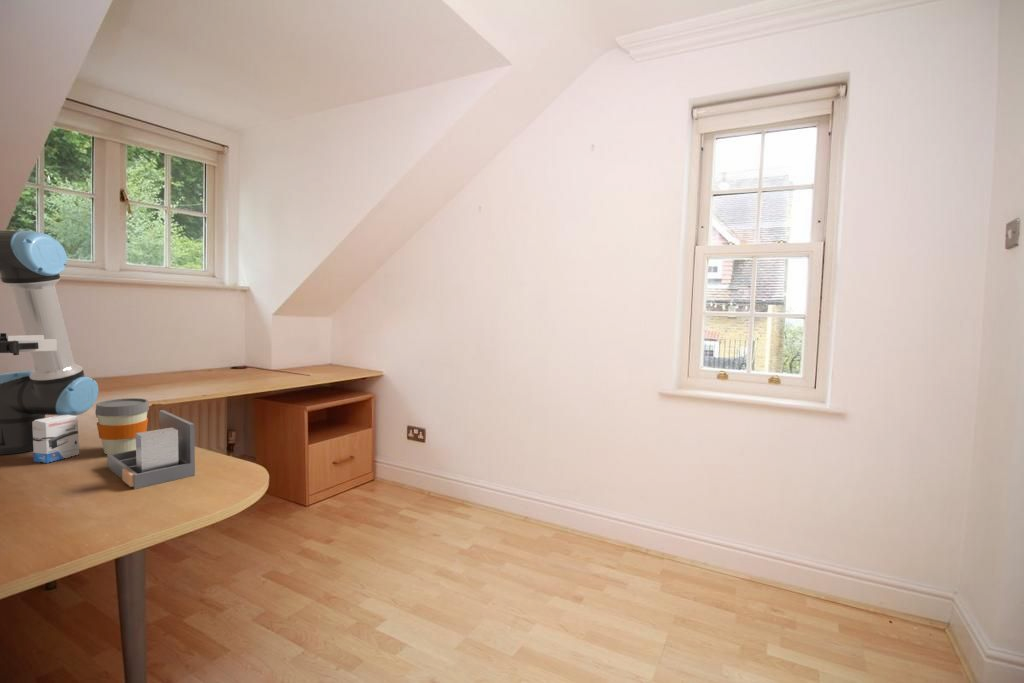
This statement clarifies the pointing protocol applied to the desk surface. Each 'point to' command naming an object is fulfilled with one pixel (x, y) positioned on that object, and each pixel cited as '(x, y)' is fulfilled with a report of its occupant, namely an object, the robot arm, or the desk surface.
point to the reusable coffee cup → (121, 423)
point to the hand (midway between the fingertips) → (50, 342)
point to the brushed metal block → (156, 449)
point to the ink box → (55, 438)
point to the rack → (127, 470)
